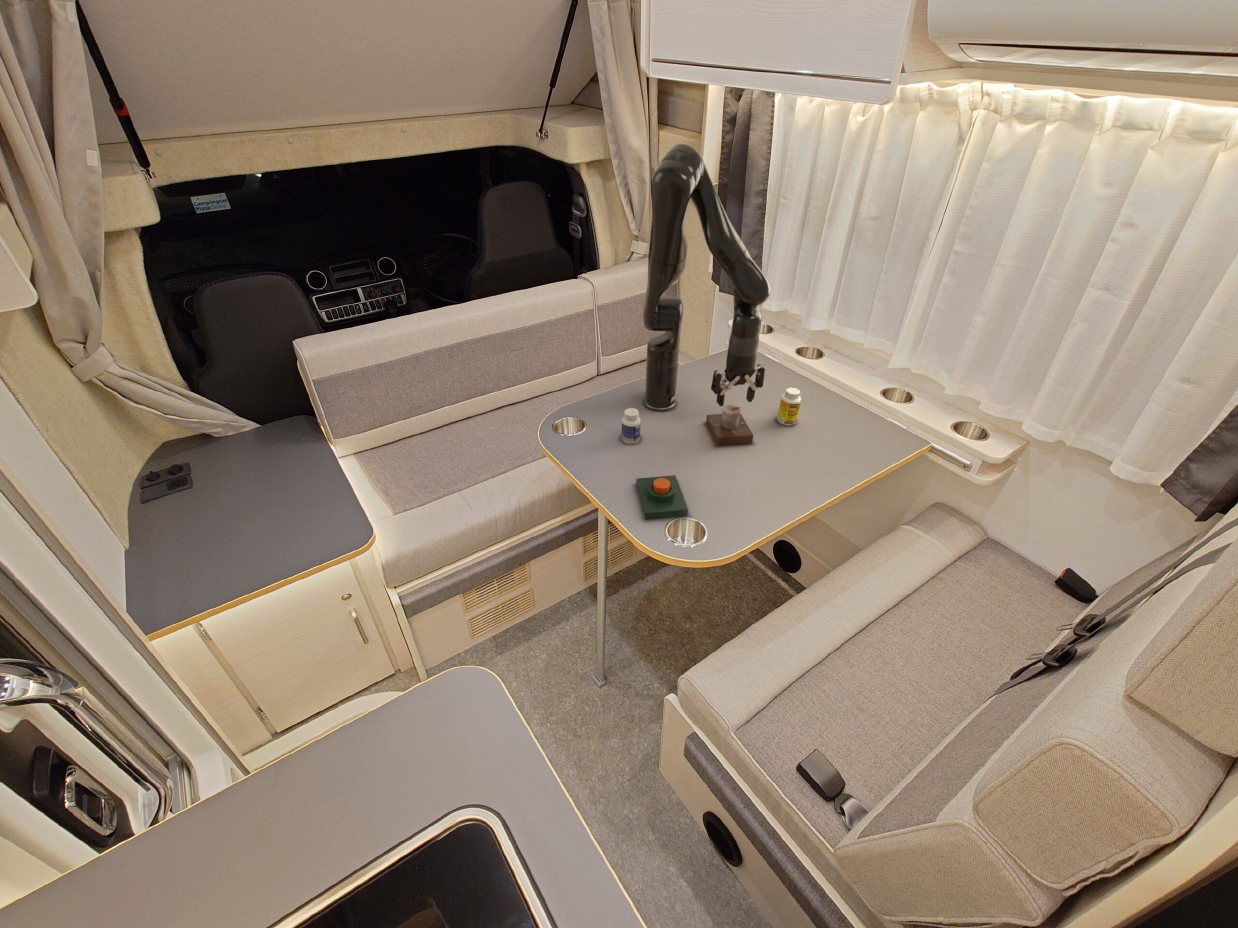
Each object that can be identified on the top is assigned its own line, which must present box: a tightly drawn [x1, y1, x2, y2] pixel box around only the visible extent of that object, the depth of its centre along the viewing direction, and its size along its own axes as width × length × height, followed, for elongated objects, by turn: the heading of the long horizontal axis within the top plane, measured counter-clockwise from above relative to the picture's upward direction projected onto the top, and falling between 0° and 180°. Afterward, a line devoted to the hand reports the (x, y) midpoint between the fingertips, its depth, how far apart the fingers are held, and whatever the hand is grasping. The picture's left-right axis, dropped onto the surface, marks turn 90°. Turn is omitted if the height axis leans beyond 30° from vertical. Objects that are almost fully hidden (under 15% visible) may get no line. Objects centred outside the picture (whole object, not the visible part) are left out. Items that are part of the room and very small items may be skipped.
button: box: [653, 478, 670, 494], centre depth 133 cm, size 4×4×2 cm
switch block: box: [635, 474, 689, 521], centre depth 135 cm, size 13×10×4 cm
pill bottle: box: [620, 407, 642, 445], centre depth 154 cm, size 5×5×9 cm
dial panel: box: [705, 413, 754, 448], centre depth 158 cm, size 12×10×3 cm
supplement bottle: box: [776, 387, 802, 426], centre depth 162 cm, size 6×6×10 cm
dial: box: [721, 404, 741, 429], centre depth 156 cm, size 5×5×5 cm
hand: (734, 402), depth 154 cm, fingers open, 8 cm apart
